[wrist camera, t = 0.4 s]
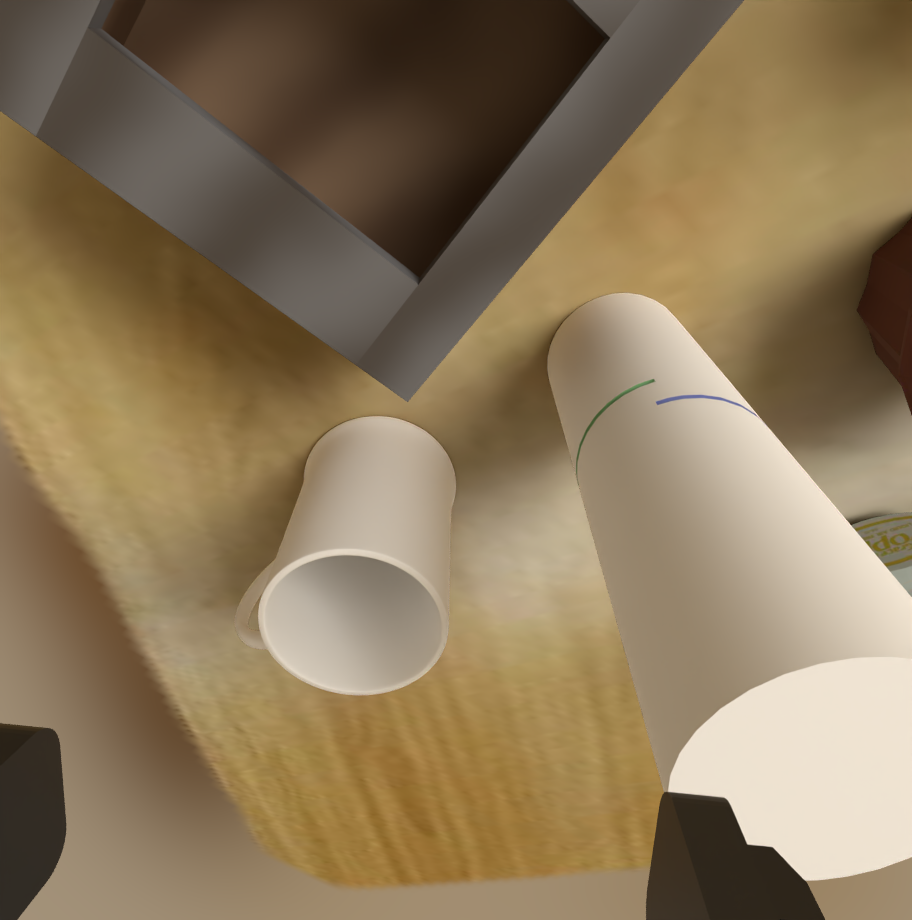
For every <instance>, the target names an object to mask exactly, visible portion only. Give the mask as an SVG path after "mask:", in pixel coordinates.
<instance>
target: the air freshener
mask: <svg viewBox="0 0 912 920" xmlns="http://www.w3.org/2000/svg"><path fill="white" fill-rule="evenodd" d="M851 526H852V527H853V528H854V529H855V531H856V532H857V533H858V534H859V535H860V537H861V538H862V539H863V540H864V541H865V543H866V544H867V545H868V546H869V547H870V548H871V550H872V551H873V552H874V553H875V554H876V556H877V557H878V558H879V559H880V560H881V562H882V563H883V564H884V565H885V566H886V567H887V569H888V570H889V571H890V572H891V573H892V575H893V576H894V577H895V578H896V579H897V580H898V582H899V583H900V584H901V585H902V586H903V588H904V589H905V590H906V591H907V592H908V594H909V595H910V596H911V597H912V513H899V514H890V515H885V516H880V517H875V518H871V519H868V520H864V521H861V522H858V523H855V524H853V525H851Z"/></svg>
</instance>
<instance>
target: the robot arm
mask: <svg viewBox="0 0 912 920" xmlns="http://www.w3.org/2000/svg"><path fill="white" fill-rule="evenodd" d="M65 836H66V815H65V803H64V791H63V778H62V764H61V752H60V742H59V738H58V736H57V734H56V732H55V731H54V730H53V729H50V728H42V727H32V726H22V725H10V724H2V723H0V920H17V919H18V918H19V917H20V915H21V914H22V913H23V912H24V910H25V909H26V908H27V906H28V905H29V904H30V902H31V901H32V900H33V899H34V897H35V896H36V895H37V894H38V892H39V891H40V890H41V888H42V887H43V886H44V885H45V883H46V882H47V881H48V879H49V878H50V876H51V875H52V873H53V871H54V869H55V867H56V865H57V863H58V861H59V858H60V856H61V853H62V850H63V846H64V842H65ZM646 920H825V918H824V916H823V914H822V912H821V910H820V908H819V906H818V904H817V902H816V901H815V898H814V896H813V894H812V892H811V890H810V888H809V886H808V884H807V882H806V881H805V880H804V879H803V878H802V877H801V876H800V875H799V874H798V873H797V872H796V871H795V870H794V869H793V868H792V867H791V866H790V865H789V864H788V863H787V861H786V860H785V859H784V858H783V857H782V856H781V855H780V854H779V853H778V852H777V851H776V850H775V849H774V848H773V847H768V846H758V845H748V844H747V842H746V840H745V838H744V835H743V833H742V831H741V828H740V826H739V824H738V821H737V819H736V816H735V814H734V812H733V809H732V807H731V805H730V803H729V802H728V800H727V799H726V798H724V797H716V796H706V795H695V794H685V793H675V792H664V794H663V795H662V798H661V801H660V806H659V813H658V819H657V826H656V833H655V840H654V847H653V854H652V860H651V867H650V874H649V881H648V888H647V899H646Z"/></svg>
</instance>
